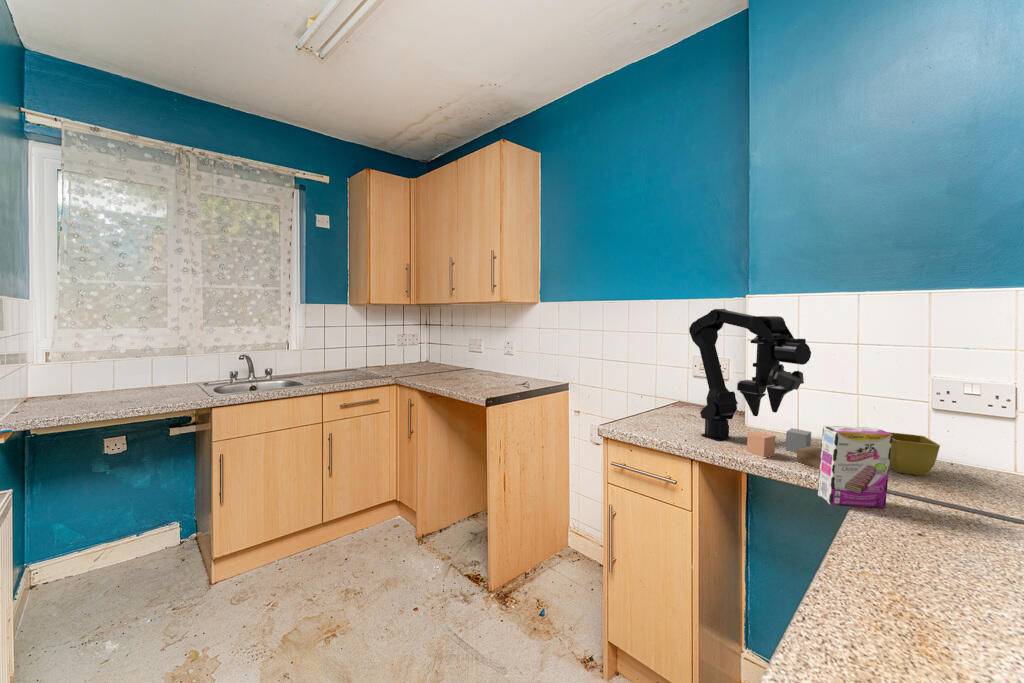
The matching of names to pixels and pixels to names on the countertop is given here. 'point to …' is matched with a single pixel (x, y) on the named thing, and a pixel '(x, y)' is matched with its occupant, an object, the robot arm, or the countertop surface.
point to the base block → (809, 456)
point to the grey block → (797, 439)
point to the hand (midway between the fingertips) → (765, 414)
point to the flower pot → (912, 453)
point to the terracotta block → (761, 444)
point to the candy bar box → (854, 466)
